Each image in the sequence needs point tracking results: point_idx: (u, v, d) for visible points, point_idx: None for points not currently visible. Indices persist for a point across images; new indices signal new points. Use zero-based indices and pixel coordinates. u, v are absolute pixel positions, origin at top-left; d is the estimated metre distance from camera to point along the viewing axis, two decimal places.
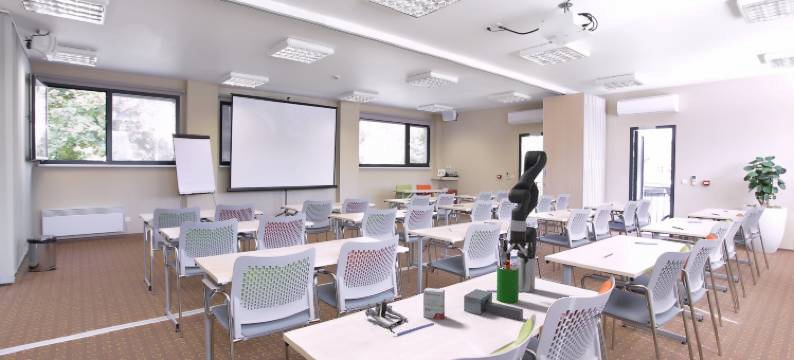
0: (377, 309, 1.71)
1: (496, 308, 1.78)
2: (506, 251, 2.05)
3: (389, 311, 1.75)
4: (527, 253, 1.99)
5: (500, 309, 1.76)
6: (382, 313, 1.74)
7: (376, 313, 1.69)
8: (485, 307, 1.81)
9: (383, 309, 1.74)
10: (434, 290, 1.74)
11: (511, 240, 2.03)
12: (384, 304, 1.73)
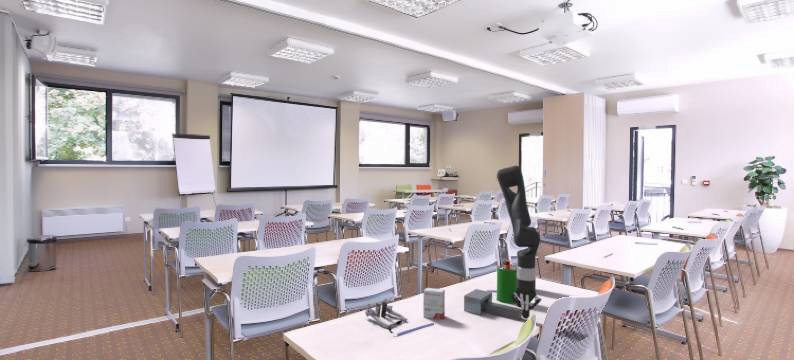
0: (377, 309, 1.71)
1: (495, 307, 1.78)
2: (521, 307, 1.71)
3: (389, 311, 1.74)
4: (529, 308, 1.70)
5: (499, 308, 1.77)
6: (382, 313, 1.74)
7: (376, 313, 1.69)
8: (484, 307, 1.81)
9: (383, 309, 1.73)
10: (434, 290, 1.74)
11: (516, 290, 1.73)
12: (384, 304, 1.73)
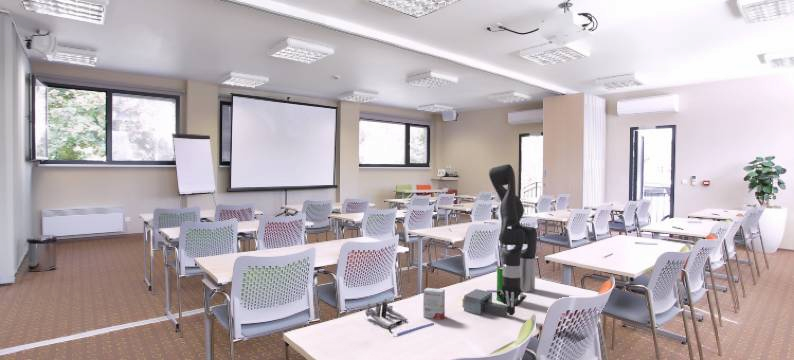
0: (377, 309, 1.71)
1: None
2: (507, 303, 1.75)
3: (389, 311, 1.74)
4: (514, 305, 1.74)
5: (485, 305, 1.80)
6: (382, 313, 1.74)
7: (376, 313, 1.69)
8: None
9: (383, 309, 1.73)
10: (434, 290, 1.74)
11: (502, 287, 1.76)
12: (384, 304, 1.73)
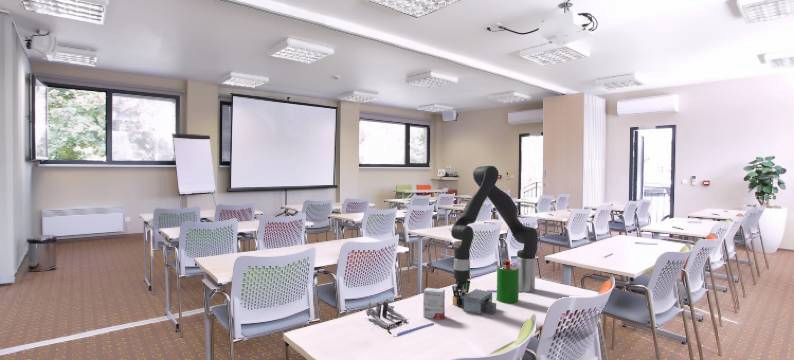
0: (378, 309, 1.71)
1: None
2: None
3: (390, 311, 1.74)
4: None
5: None
6: (383, 313, 1.74)
7: (376, 313, 1.69)
8: None
9: (384, 309, 1.73)
10: (434, 290, 1.74)
11: None
12: (385, 304, 1.73)
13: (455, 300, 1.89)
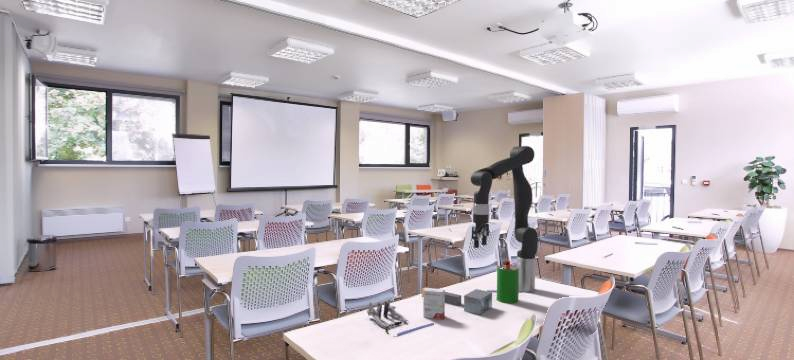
0: (378, 309, 1.71)
1: None
2: None
3: (391, 312, 1.74)
4: (474, 237, 1.92)
5: None
6: (384, 313, 1.74)
7: (376, 313, 1.70)
8: None
9: (385, 309, 1.73)
10: (434, 290, 1.74)
11: None
12: (386, 304, 1.73)
13: None
